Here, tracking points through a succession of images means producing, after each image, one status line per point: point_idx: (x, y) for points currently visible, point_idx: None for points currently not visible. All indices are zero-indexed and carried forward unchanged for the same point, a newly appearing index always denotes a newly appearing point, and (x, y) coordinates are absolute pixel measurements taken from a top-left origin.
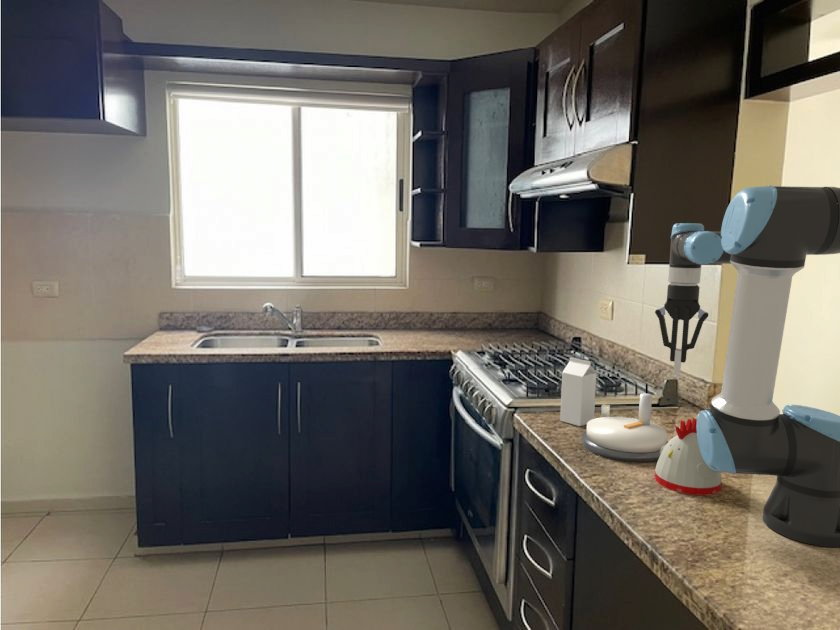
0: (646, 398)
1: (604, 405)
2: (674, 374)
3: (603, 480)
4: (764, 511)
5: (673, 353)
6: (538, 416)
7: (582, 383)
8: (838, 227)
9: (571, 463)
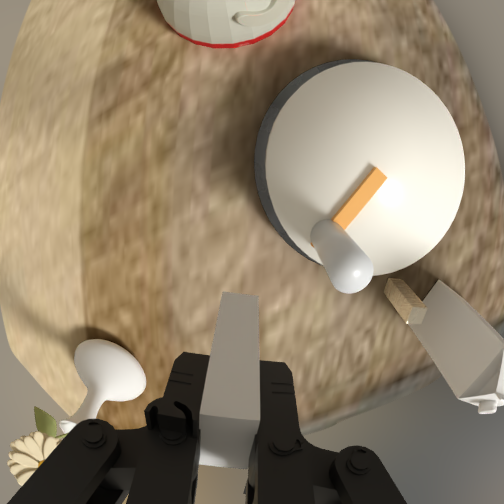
0: (350, 248)
1: (420, 313)
2: (252, 297)
3: None
4: None
5: (271, 406)
6: (489, 309)
7: (493, 334)
8: None
9: (451, 42)
